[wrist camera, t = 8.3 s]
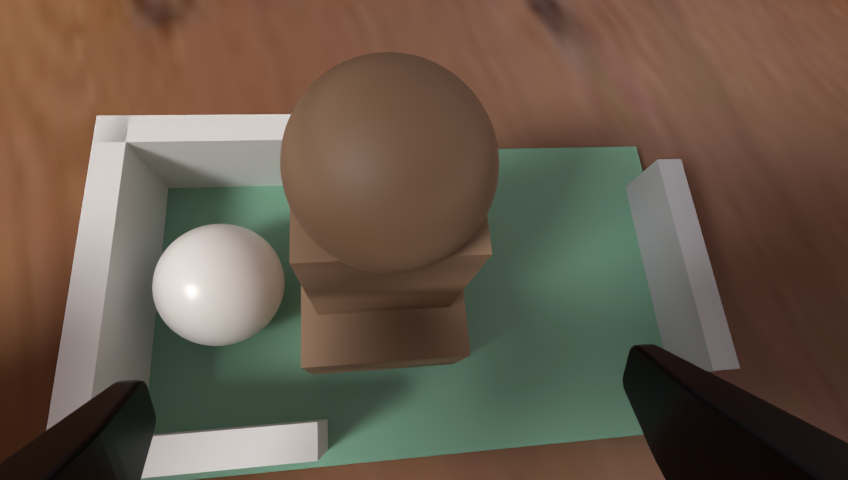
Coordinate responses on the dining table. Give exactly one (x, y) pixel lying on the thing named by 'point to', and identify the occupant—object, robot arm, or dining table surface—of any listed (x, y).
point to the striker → (387, 212)
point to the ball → (218, 284)
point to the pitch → (389, 388)
